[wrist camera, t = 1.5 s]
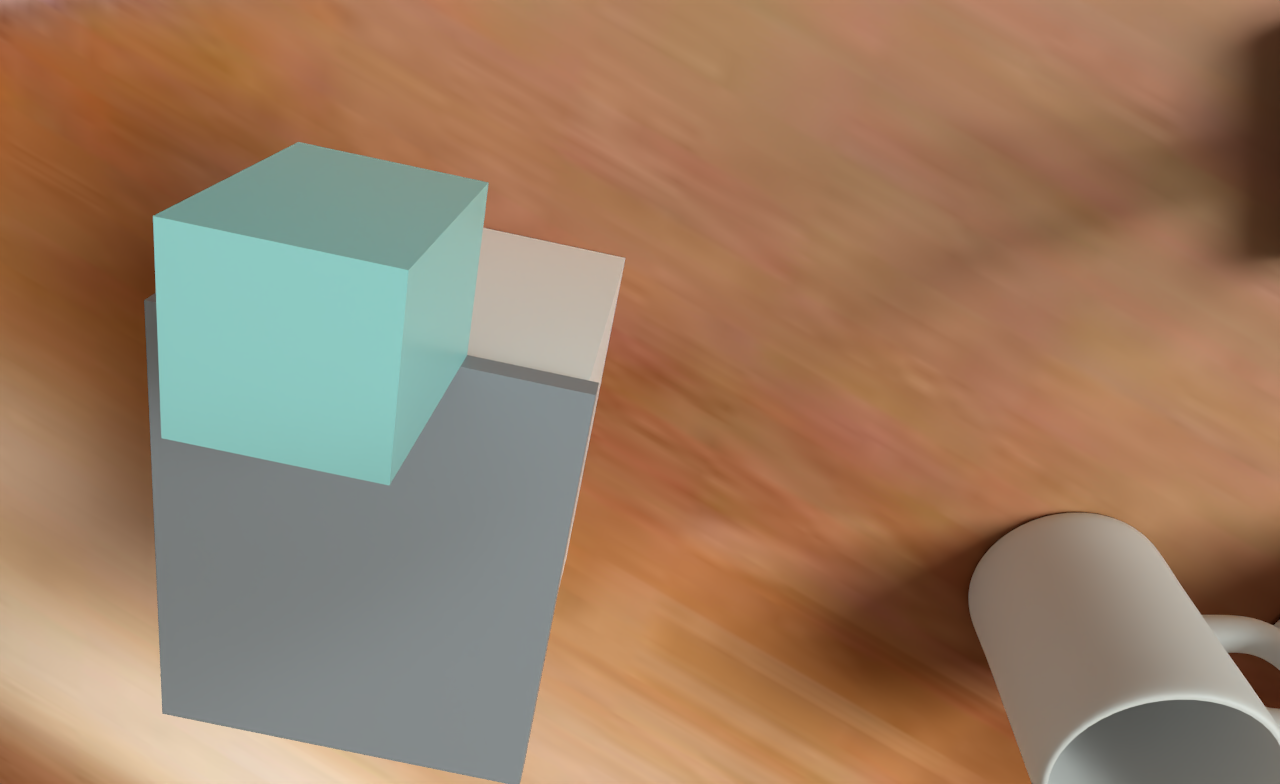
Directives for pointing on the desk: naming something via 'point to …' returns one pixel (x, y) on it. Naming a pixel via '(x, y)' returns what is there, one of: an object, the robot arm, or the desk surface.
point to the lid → (351, 468)
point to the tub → (544, 308)
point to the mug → (1118, 661)
